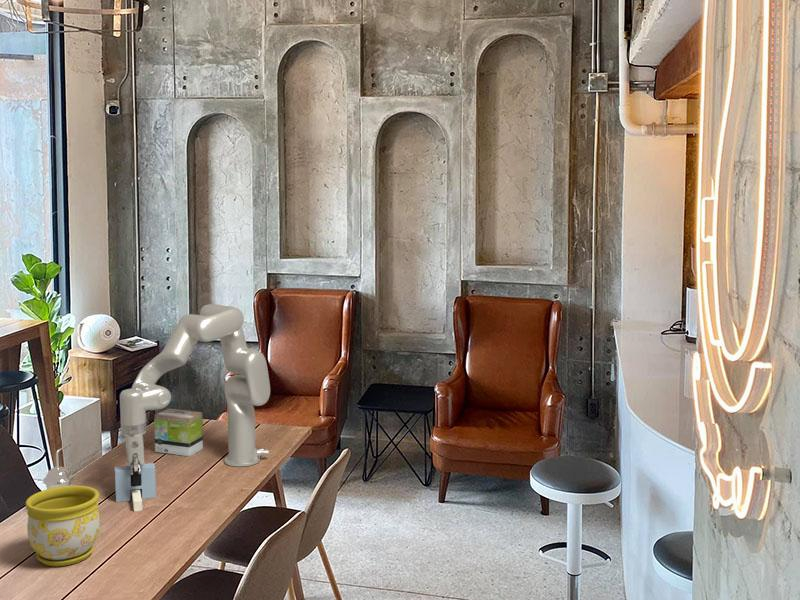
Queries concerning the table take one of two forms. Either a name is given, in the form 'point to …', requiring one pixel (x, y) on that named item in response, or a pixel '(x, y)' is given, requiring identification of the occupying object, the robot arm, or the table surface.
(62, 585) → the table surface
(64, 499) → the flowerpot
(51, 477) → the cup with straw
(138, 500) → the rail
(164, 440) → the tea box
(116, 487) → the grey-blue plate
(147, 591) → the table surface
